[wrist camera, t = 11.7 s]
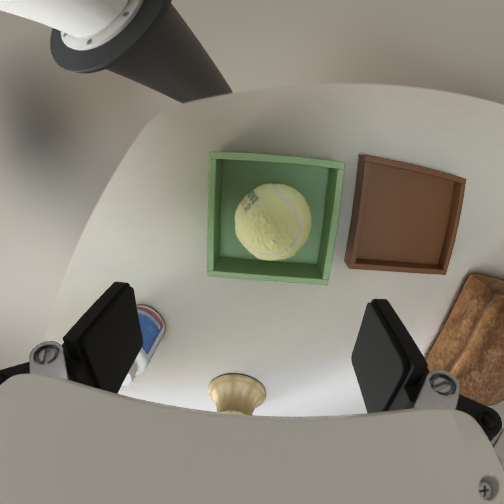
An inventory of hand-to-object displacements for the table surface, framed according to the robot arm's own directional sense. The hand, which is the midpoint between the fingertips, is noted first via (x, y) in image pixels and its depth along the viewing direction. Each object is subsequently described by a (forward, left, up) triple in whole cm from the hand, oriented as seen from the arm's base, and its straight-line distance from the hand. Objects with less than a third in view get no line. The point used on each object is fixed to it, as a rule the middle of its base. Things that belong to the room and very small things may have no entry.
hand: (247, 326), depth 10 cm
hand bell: (+25, -2, -18) cm, 31 cm away
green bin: (-1, +1, -18) cm, 18 cm away
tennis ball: (-1, +1, -18) cm, 18 cm away
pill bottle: (+14, -14, -18) cm, 27 cm away
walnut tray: (-2, +15, -18) cm, 24 cm away
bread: (+14, +40, -18) cm, 46 cm away
